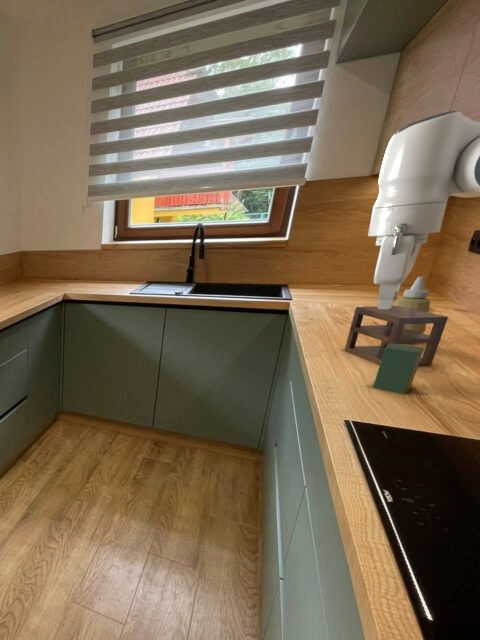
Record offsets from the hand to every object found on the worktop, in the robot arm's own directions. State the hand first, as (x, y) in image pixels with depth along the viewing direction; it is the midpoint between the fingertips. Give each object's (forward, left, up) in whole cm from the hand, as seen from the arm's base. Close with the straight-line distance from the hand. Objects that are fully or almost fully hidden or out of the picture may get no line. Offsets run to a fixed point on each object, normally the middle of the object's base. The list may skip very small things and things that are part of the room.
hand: (386, 305), depth 77 cm
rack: (-28, -31, -20) cm, 46 cm away
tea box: (-14, -10, -20) cm, 26 cm away
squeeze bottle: (-43, -46, -20) cm, 66 cm away
